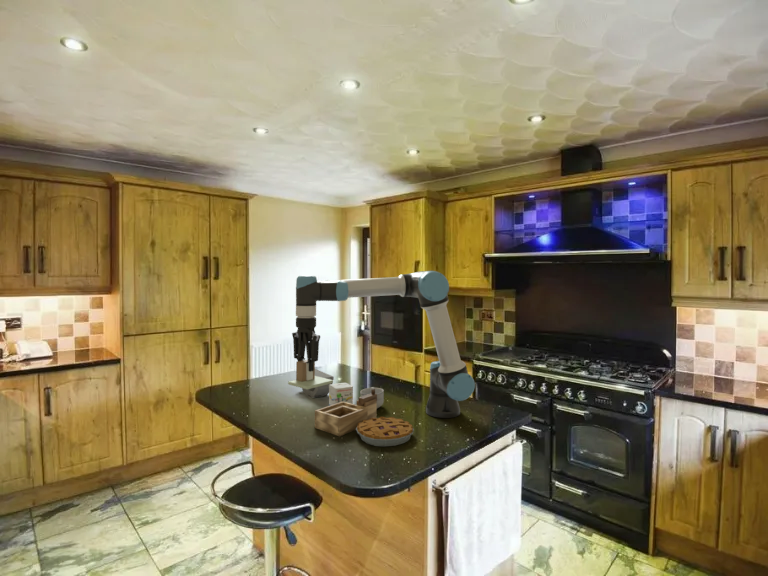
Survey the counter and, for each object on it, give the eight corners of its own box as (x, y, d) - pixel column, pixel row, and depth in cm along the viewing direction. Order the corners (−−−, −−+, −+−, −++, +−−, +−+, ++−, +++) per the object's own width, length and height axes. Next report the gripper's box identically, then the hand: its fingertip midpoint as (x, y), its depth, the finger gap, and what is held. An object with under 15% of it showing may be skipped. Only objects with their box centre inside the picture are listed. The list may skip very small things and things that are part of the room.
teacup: (380, 411, 189) (381, 394, 189) (357, 410, 191) (357, 392, 191) (386, 402, 203) (387, 386, 202) (364, 401, 205) (365, 384, 205)
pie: (368, 452, 146) (368, 438, 146) (348, 431, 166) (348, 418, 166) (424, 443, 155) (424, 429, 155) (398, 423, 175) (398, 411, 175)
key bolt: (376, 400, 181) (377, 389, 180) (363, 405, 174) (363, 393, 173) (372, 399, 182) (372, 388, 182) (358, 404, 175) (358, 392, 175)
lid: (333, 382, 159) (333, 361, 159) (307, 389, 149) (307, 366, 149) (314, 378, 166) (314, 357, 165) (288, 384, 156) (288, 362, 156)
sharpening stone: (333, 398, 209) (333, 376, 209) (319, 401, 204) (319, 378, 204) (311, 387, 229) (311, 367, 229) (298, 389, 225) (298, 369, 225)
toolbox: (378, 420, 178) (378, 399, 178) (339, 436, 160) (339, 413, 160) (353, 413, 187) (353, 393, 186) (314, 427, 169) (314, 406, 168)
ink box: (335, 414, 185) (335, 388, 184) (328, 409, 192) (328, 383, 192) (353, 412, 188) (353, 386, 188) (345, 406, 196) (346, 381, 196)
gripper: (328, 317, 156) (328, 380, 157) (299, 314, 167) (299, 373, 167) (313, 319, 150) (312, 384, 151) (284, 315, 161) (283, 377, 162)
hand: (305, 378), depth 159 cm, fingers closed on lid, 3 cm apart
